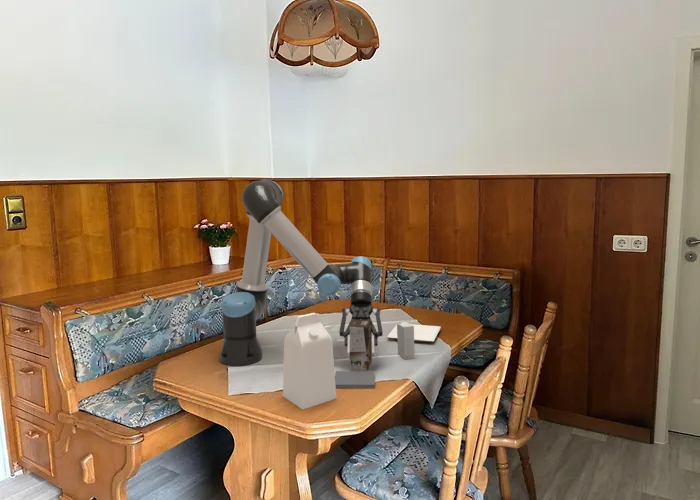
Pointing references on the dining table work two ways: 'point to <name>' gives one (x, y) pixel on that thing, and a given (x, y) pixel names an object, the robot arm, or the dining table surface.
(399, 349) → the skincare box
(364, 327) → the coffee box
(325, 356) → the milk
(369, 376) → the mat
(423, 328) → the plate
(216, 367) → the dining table surface
